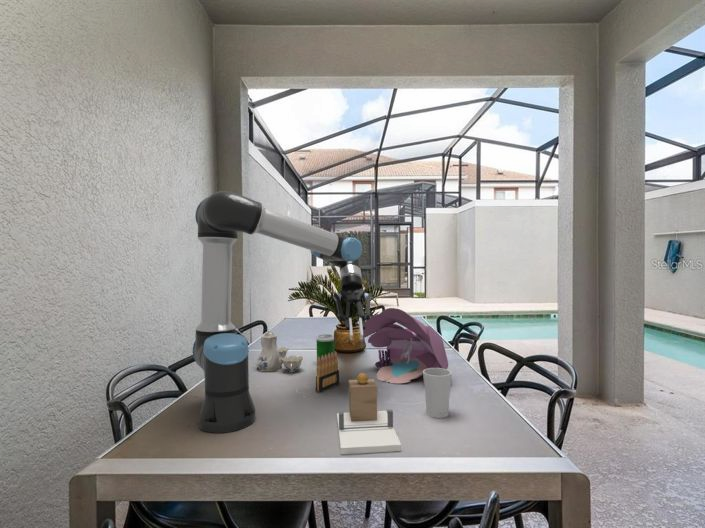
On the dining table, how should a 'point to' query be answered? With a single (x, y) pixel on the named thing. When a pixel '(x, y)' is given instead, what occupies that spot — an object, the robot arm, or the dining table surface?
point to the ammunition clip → (327, 372)
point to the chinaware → (275, 355)
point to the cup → (437, 391)
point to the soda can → (325, 345)
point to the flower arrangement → (404, 346)
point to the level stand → (367, 434)
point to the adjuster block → (362, 398)
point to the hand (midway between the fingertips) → (356, 337)
